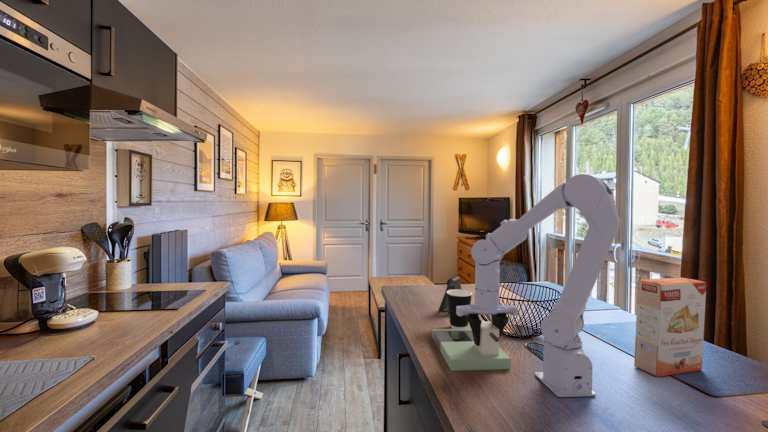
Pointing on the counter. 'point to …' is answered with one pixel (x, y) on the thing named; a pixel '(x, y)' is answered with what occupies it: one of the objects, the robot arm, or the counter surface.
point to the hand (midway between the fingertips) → (486, 344)
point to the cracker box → (670, 325)
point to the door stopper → (451, 284)
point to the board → (467, 351)
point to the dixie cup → (458, 299)
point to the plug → (488, 339)
